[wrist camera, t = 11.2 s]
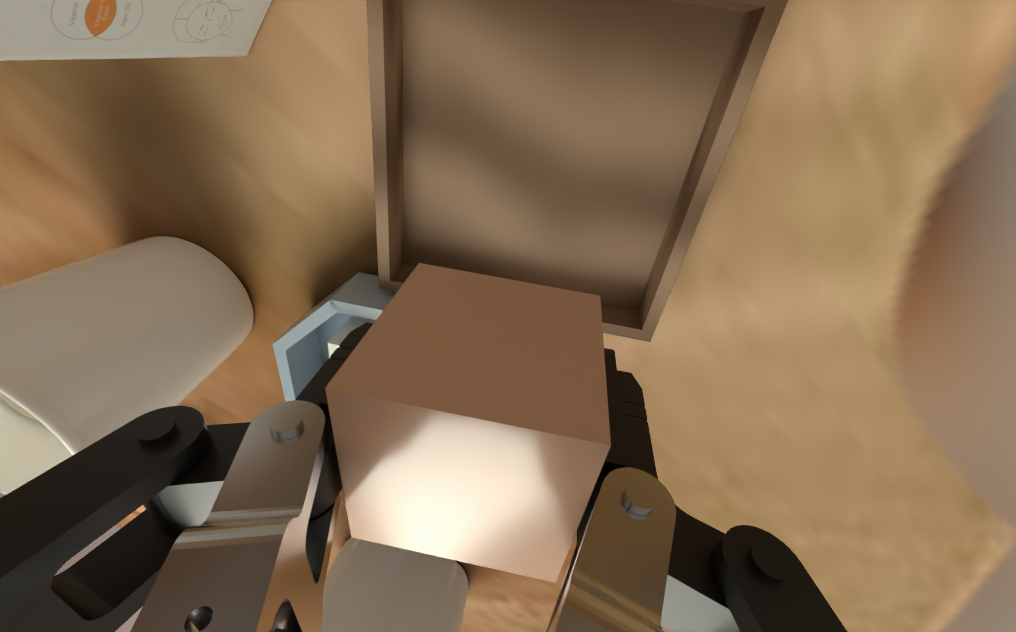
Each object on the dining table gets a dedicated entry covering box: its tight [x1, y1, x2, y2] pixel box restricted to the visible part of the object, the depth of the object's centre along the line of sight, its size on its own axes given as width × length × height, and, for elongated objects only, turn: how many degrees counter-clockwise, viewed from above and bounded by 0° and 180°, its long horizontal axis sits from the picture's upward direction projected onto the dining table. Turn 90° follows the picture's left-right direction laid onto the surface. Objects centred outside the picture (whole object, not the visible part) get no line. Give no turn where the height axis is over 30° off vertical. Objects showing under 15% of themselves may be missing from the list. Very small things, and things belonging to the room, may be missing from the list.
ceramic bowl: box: [273, 272, 397, 402], centre depth 26 cm, size 13×13×4 cm
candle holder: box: [0, 236, 254, 495], centre depth 22 cm, size 10×10×12 cm
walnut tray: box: [367, 0, 788, 342], centre depth 18 cm, size 14×14×3 cm
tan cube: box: [325, 263, 611, 583], centre depth 9 cm, size 4×4×4 cm
